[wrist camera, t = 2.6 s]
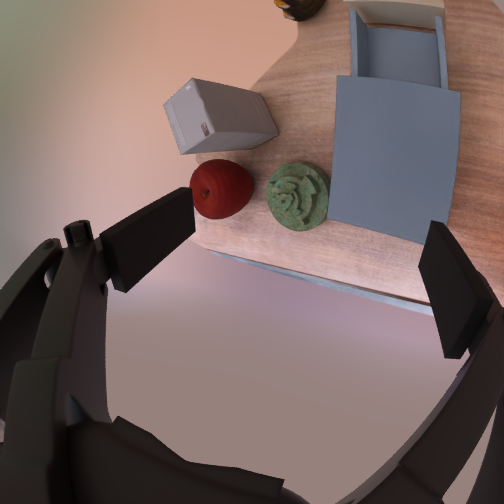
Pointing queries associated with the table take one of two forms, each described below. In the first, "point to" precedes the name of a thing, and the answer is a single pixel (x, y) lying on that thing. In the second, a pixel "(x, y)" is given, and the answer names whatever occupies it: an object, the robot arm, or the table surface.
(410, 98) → the cabinet
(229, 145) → the cosmetic box
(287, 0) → the figurine
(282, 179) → the decorative artifact
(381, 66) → the drawer
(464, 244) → the table surface
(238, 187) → the apple
